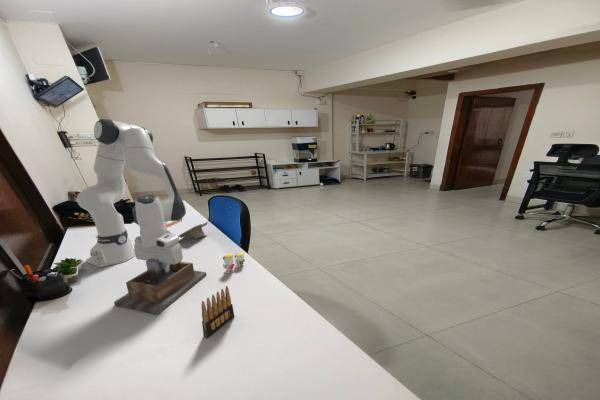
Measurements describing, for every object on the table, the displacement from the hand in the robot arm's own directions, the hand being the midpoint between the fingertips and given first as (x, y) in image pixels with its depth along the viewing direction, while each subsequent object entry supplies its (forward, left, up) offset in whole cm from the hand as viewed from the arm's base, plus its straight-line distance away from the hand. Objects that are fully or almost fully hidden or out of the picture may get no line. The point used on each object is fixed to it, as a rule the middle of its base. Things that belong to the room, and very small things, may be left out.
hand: (161, 270), depth 99 cm
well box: (0, 0, -8) cm, 8 cm away
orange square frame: (-66, +66, -8) cm, 94 cm away
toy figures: (+19, +21, -8) cm, 29 cm away
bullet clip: (+34, -12, -8) cm, 37 cm away
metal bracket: (0, 0, -4) cm, 4 cm away
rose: (-64, +64, -9) cm, 91 cm away
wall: (-26, +48, -8) cm, 55 cm away
